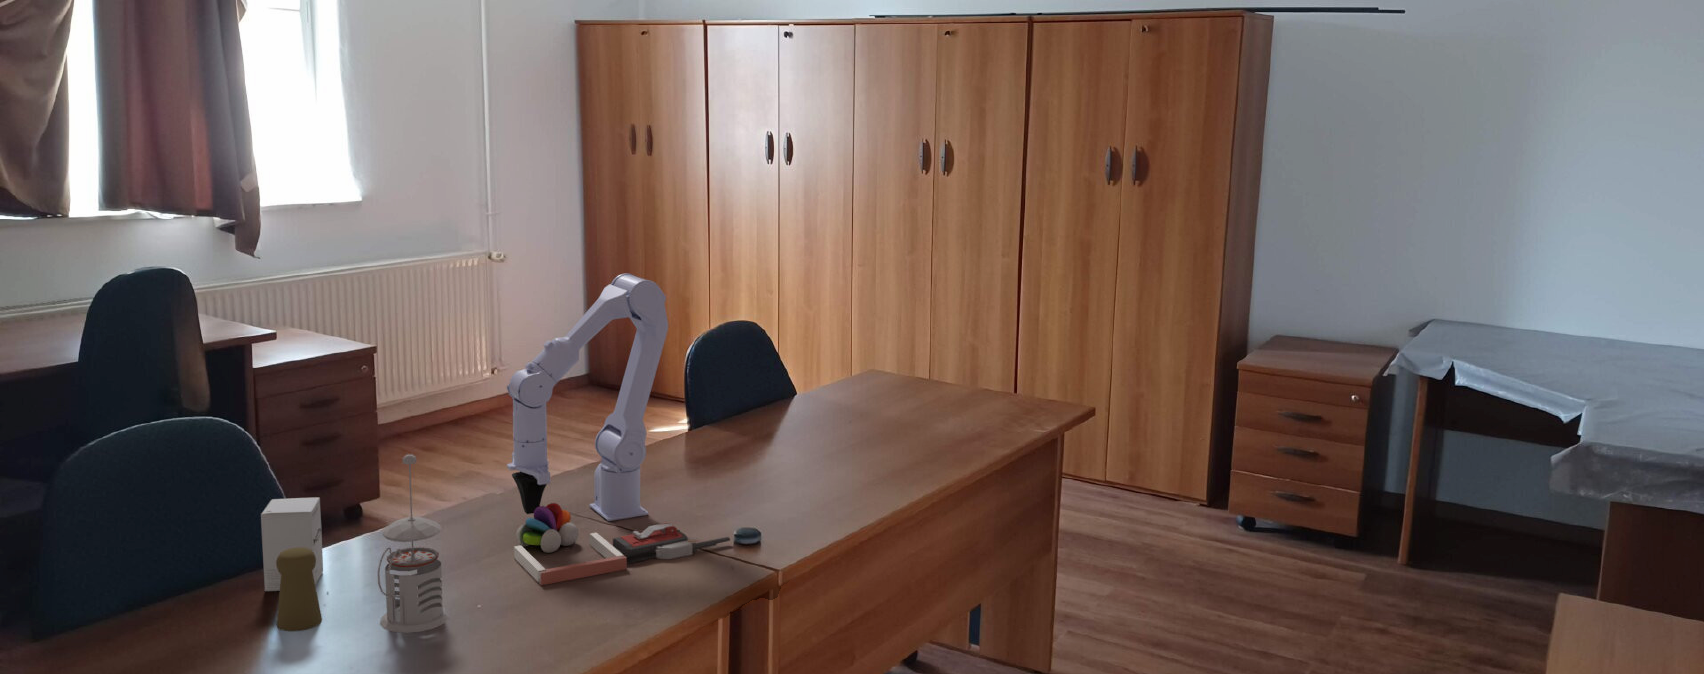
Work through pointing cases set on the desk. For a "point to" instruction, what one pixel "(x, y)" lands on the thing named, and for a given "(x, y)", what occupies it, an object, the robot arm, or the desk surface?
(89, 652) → the desk surface
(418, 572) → the french press
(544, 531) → the colorful petals pebble cluster
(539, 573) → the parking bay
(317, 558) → the supplement box
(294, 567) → the cork
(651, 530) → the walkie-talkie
